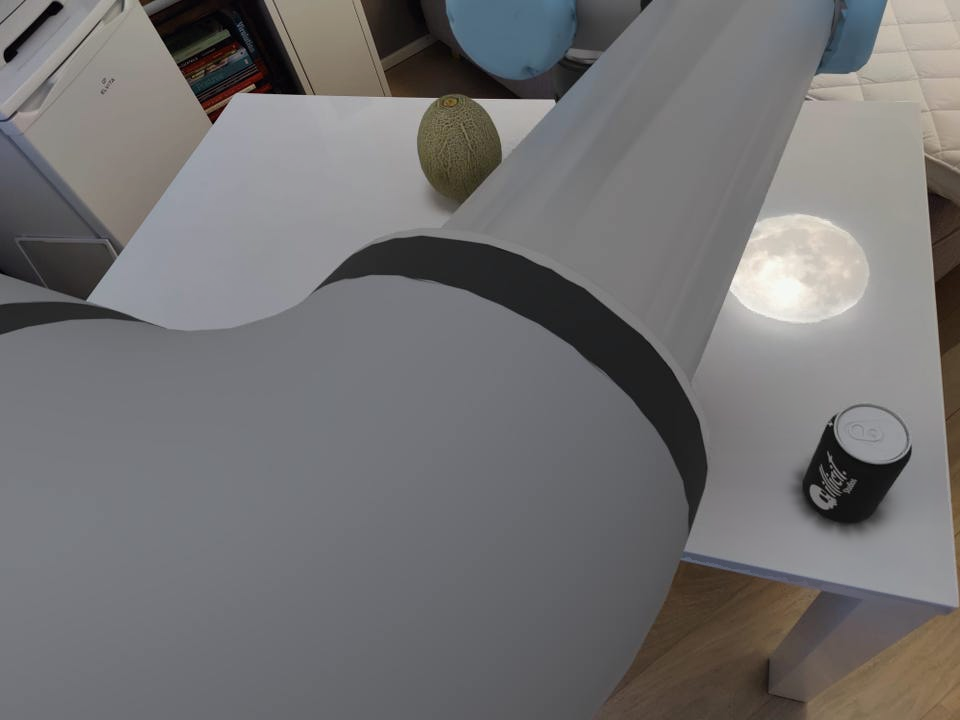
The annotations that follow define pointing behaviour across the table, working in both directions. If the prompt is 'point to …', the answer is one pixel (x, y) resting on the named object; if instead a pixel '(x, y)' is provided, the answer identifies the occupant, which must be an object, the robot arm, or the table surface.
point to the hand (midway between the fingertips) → (607, 257)
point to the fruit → (457, 146)
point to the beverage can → (857, 462)
